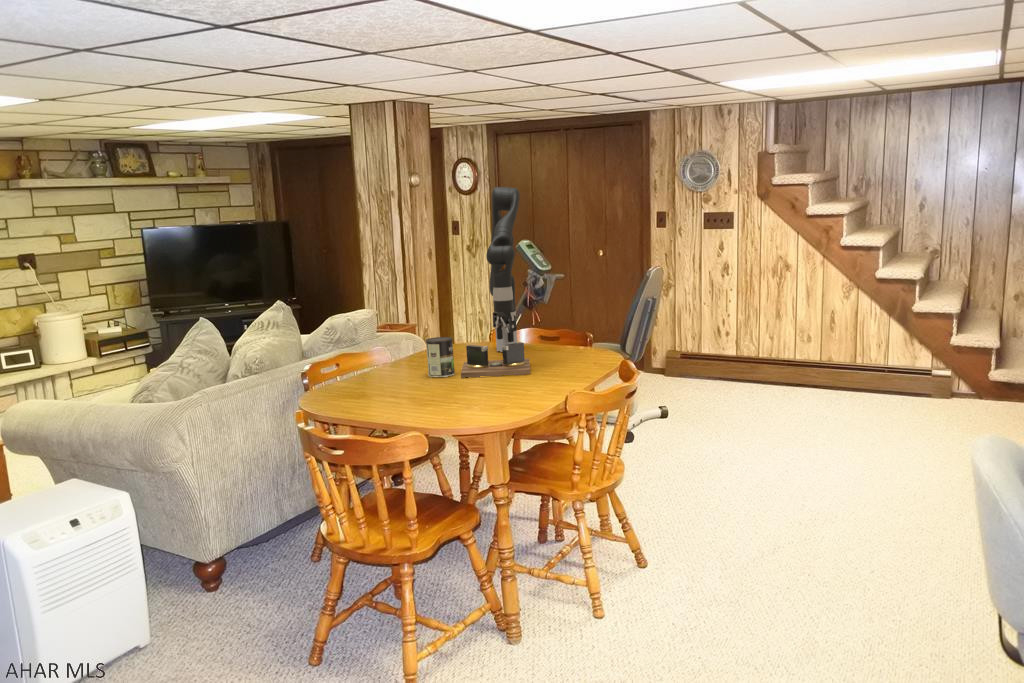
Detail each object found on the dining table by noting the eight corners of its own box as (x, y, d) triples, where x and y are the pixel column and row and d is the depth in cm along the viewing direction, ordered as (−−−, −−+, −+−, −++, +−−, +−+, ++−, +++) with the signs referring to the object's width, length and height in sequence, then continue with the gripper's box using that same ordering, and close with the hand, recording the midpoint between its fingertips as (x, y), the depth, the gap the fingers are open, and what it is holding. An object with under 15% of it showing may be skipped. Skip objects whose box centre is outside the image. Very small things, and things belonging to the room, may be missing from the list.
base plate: (464, 366, 326) (464, 359, 325) (529, 363, 325) (528, 355, 325) (461, 378, 304) (460, 370, 303) (530, 374, 304) (530, 366, 303)
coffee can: (455, 371, 317) (453, 336, 315) (454, 377, 307) (451, 340, 304) (429, 373, 317) (426, 337, 315) (426, 378, 307) (424, 342, 305)
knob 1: (462, 367, 314) (461, 346, 313) (476, 363, 320) (475, 343, 319) (479, 369, 308) (478, 348, 307) (493, 365, 314) (492, 345, 313)
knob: (515, 361, 320) (514, 341, 319) (529, 363, 314) (528, 343, 313) (498, 365, 314) (497, 344, 313) (512, 367, 308) (511, 346, 307)
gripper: (521, 299, 304) (523, 341, 307) (502, 295, 316) (504, 336, 319) (503, 301, 301) (505, 344, 304) (485, 298, 313) (487, 339, 316)
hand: (505, 340), depth 311 cm, fingers open, 8 cm apart
